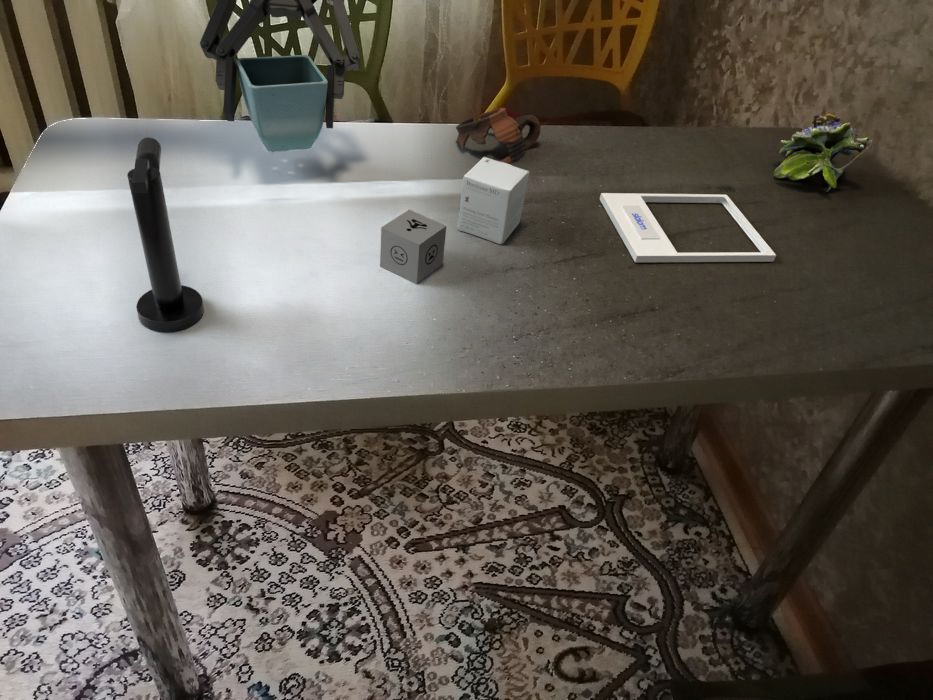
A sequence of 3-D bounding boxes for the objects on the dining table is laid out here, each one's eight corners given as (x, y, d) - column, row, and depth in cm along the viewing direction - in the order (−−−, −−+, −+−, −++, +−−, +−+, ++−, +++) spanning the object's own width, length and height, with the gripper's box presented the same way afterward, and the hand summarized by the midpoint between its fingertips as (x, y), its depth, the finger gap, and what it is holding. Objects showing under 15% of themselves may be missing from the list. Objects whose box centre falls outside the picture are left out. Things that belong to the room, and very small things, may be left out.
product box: (455, 230, 89) (461, 175, 85) (476, 208, 94) (483, 155, 89) (502, 246, 88) (511, 190, 83) (521, 223, 92) (530, 169, 87)
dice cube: (442, 263, 84) (446, 225, 81) (416, 283, 80) (419, 244, 77) (407, 247, 86) (409, 209, 82) (380, 266, 82) (381, 227, 79)
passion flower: (790, 200, 116) (848, 136, 113) (835, 225, 107) (899, 157, 104) (748, 159, 111) (807, 91, 107) (791, 183, 102) (857, 109, 98)
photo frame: (601, 191, 98) (727, 193, 101) (599, 199, 99) (724, 200, 102) (637, 254, 87) (776, 253, 90) (635, 262, 88) (773, 261, 91)
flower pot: (240, 129, 92) (233, 56, 86) (310, 124, 95) (308, 53, 90) (255, 162, 86) (249, 87, 81) (330, 155, 90) (329, 82, 84)
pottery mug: (486, 187, 99) (465, 127, 96) (459, 185, 107) (439, 129, 104) (561, 154, 102) (543, 94, 99) (529, 153, 110) (512, 98, 107)
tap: (143, 271, 77) (110, 124, 67) (204, 268, 79) (181, 123, 68) (136, 338, 70) (97, 183, 59) (203, 332, 71) (178, 181, 61)
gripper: (385, -35, 93) (379, 138, 91) (192, -54, 90) (183, 125, 88) (386, -72, 85) (380, 115, 84) (176, -95, 82) (166, 99, 81)
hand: (279, 120), depth 86 cm, fingers closed on flower pot, 11 cm apart
